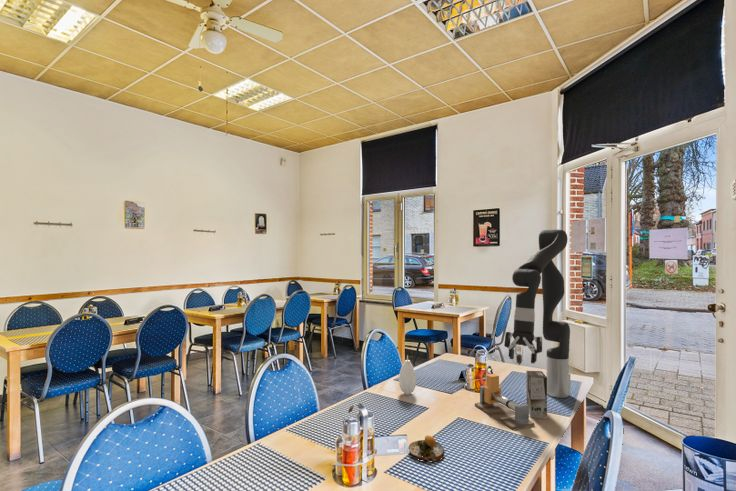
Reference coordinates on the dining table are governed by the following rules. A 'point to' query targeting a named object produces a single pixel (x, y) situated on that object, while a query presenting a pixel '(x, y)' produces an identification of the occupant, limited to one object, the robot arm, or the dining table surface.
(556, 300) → the robot arm
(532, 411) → the coffee box
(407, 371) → the white teardrop vase
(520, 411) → the pipe
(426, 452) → the bowl of food
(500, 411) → the base board
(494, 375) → the collar
